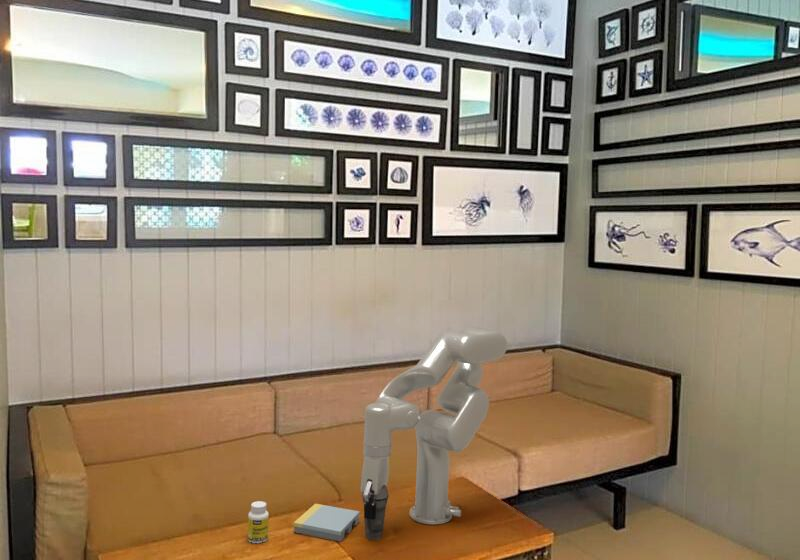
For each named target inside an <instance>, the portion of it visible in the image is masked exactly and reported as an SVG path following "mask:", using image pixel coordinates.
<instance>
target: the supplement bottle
mask: <svg viewBox="0 0 800 560" xmlns="http://www.w3.org/2000/svg"><path fill="white" fill-rule="evenodd" d="M269 515H270V514H269V512H268V511H267V503H266V502H265V501H261V500H260V501H259V500H257V501H253V502H252V503H251V505H250V511H249V512H248V515H247V516H248V517H247V537H246V538H247V541H248V542H249V543H251V542H252V543H251V544H255V543H257V544H262V542H263V543H265V542H266V541H267V540H268V537H269V520H270V519H269V518H270V516H269Z"/></svg>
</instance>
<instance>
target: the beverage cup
mask: <svg viewBox="0 0 800 560" xmlns="http://www.w3.org/2000/svg"><path fill="white" fill-rule="evenodd" d="M374 492H375V491H372V490H371V492H370V493H374ZM363 495H364V493H362V495H361V496H362V497H361V498H362V503H363V504H364V497H363ZM370 497H371V498H372V500H373V495H370ZM388 499H389V491H388V488H387V485H386V486H385V485H383V487H382V488H381V490H380V493H379V494H377V495H376V501H375V505H376V519H375V520H373V519H367V518H364V517H363V519H364V532H365V534H364V535H365V538H366V539H367V540H371V541H378V540H381V539H382V537H383V531H384V525H385V516H386V509H387V504H388Z"/></svg>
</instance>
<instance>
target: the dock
mask: <svg viewBox="0 0 800 560" xmlns="http://www.w3.org/2000/svg"><path fill="white" fill-rule="evenodd" d="M360 513H361V512H360V511H359V510H354V509H353V510H352V509H347V508H342V507H336V506H332V505H331V506H330V505H325V504H320V503H314V504H313V505H312V506H311V507H310V508H308V509H307V511H305V512H303V514H302V515H301V516H299V517H298V518H297V519H296V520H295V521H294V522H293V533H295V532H296V533H295V534H300V533H301V535H305V534H306V535H305V536H310V537H316V538H320V539H326V540H331V541H335V542H339V543H341V542H342V541H344V539H345V534H349V533H350V532H351V531H352V530H353V529H352V528H353V526H355V527H356V526H357V525H358V524H359V523H360Z"/></svg>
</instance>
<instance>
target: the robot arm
mask: <svg viewBox="0 0 800 560" xmlns="http://www.w3.org/2000/svg"><path fill="white" fill-rule="evenodd" d="M507 349H508V340H507V338H506V336H505V335H504V334H503V333H501V332H499V331H495V330H490V329H485V328H479V327H471V326H466V327H463V328H461V329H460V331H454V330H444V331H442V332H441V333H439V334H438V336H437V337H436V338H435V340H434V341H433V342H432V344H431V345H430V346H429V347H428V349H427V350H426V352H425V353H424V354H423V355H422V357H421V359H419V361H418V362H417V364H416V365H415V366H413V367H411V368H410V369H407V370H406V371H404V372H402V373H401V374H399V375H397V376H395V377H394V378H393V379H391V380H390V382H388V383H387V385H386V386H385V387H384V388H383V390H382V391H381V392H380V394H379V395H378V396H377V398H376V400H375V402H374V403H373V402H372V403H370V404H368V405H366V407H365V410H364V411H365V412H364V429H363V430H364V431H363V456H364V458H363V463H362V472H361V479H360V480H361V482H360V492H361V493H362V494H363V493H364V495H363V497H364V503H363V519H364V518H367V519H373V520H375V519H376V505H375V501H376V495H377V494H379V493H380V490H381V488H382V487H383V485H385V486H386V487H387V485H388V483H389V475H390V474H389V472H390V471H389V470H390V464H389V463H390V460H389V458H390V457H391V456H392V439H393V438H392V434H393V431H404V430H411V429H413V428H414V431H415V439H416V446H417V448H416V449H417V458H416V476H415V479H416V480H415V495H414V496H415V499H414V501H415V502H414V505H413V506H412V507H410V509H409V514H408V515H409V517H410V518H411V519H412V520H414V521H415V522H416V523H417V522H418V523H421V524H423V525H442V524H446V523H448V522H449V521H451V520H452V517H453V516H455V517H459V518H460V517H461V515H462V510H461V509H460V507H459V506H453V505H451V501H450V499H448V497H449V496H448V495H449V479H450V478H449V475H450V453H449V451H451V452H453V453H455V452H456V453H459V452H461V451H463V450H465V449H466V447H468V445H469V444H470V443H471V441H472V439H473V438H474V436H475V435H476V432H478V430H479V428H480V426H481V425H482V424H483V421H484V420H485V418H486V416H487V415H488V411H489V409H490V408H489V407H490V399H489V396H488V394H487V392H486V391H485V390H484V389H482V388H479V385H480V383H481V381H482V378H483V365H482V363H488V362H493V361H498V360H499V359H501V358H502V357H504V355H505V354H506V352H507ZM456 362H457V365H456V367H455V369H454V370H453V373H452V374H451V375H450V376H449V378H448V380H447V381H446V383H445V384H444V386H443V388H441V391H440V392H439V395H438V398H437V404H438V406H439V407H440V409H442V411H445V412H442V411H440V410H437V409H436V410H435V409H427V410H424V411H422V412H420V410H419V408H418V406H417V405H415V404H413V403H412V402H409V401H406V400H404V398H405V397H407V396H408V395H409V394H410V393H413V392H416V391H418V390H422V389H428V388H431V387H435V386H438V385H440V383H442V381H443V379H444V378H445V377H446V375H447V373H448V372H449V371H450V370H451V368H452V367H453V365H454V364H455V363H456ZM446 412H447V413H446ZM451 414H453V415H451ZM371 490H372V491H375V492H374V493H370V492H371ZM370 495H373V500H372V498H371V497H370ZM363 497H362V498H363Z"/></svg>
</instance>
